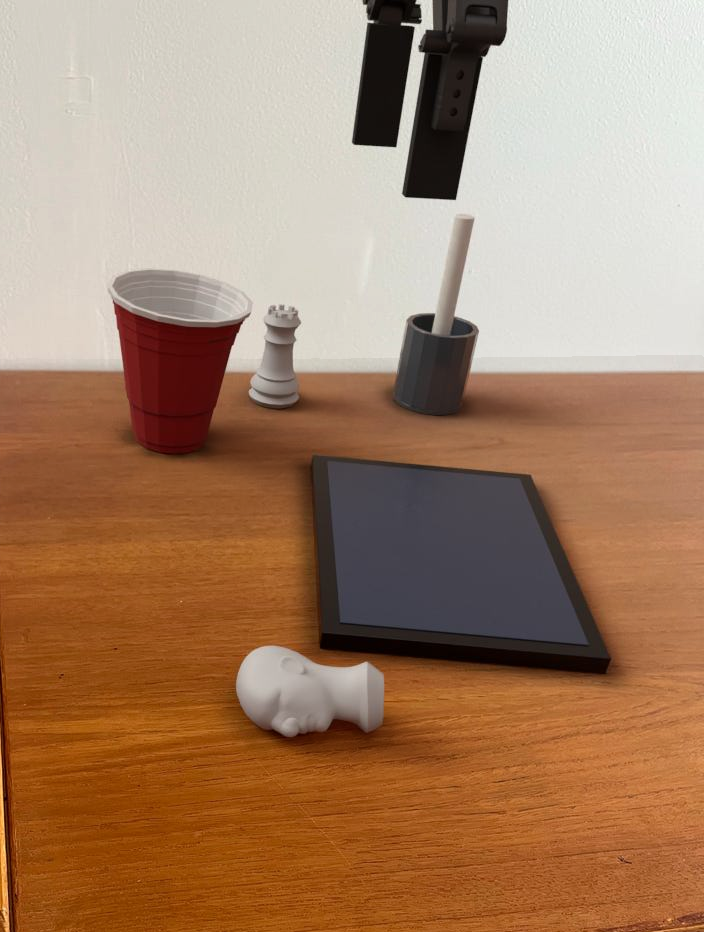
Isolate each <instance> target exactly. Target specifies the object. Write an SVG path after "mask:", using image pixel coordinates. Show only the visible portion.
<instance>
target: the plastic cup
mask: <svg viewBox="0 0 704 932" xmlns="http://www.w3.org/2000/svg"><path fill="white" fill-rule="evenodd" d="M106 287H107V292H108V294H109V295H110V297H111V300H112V304H113V309H114V311H113V312H114V315H115V318H116V319H115V320H116V329H117V331H118V336H119V347H120V353H121V361H122V369H123V375H124V377H123V378H124V384H125V392H126V393H125V394H126V399H127V400H128V406H129V413H130V421H131V428H132V432H133V434H134V438H135V440H136V441H137V443H138V444H139V445H141V447H144V448H146V449H147V450H151V451H154V452H158V453H165V454H185V453H190V452H193V451H197V450H199V449H200V448H202V447H203V446H204V445H205V442H206V439H207V438H208V435H209V431H210V427H211V424H212V423H211V422H212V420H213V416H214V411H215V408H216V407H217V404H218V400H219V396H220V393H221V389H222V385H223V381H224V377H225V373H226V371H227V367H228V366H227V365H228V363H229V360H230V355H231V351H232V347H233V346H235V345H234V344H235V341H236V339H237V335H238V334H239V332H240V330H241V327H242V325H243V323H244V322H245V321H246V320H247V319H248V318H250V315H251V314H252V311H253V300H252V299H250V297H249V296H248V295H247V294H246V293H245V292H244V291H243V290H240V289H239V288H237V287H235V286H233V285H231V284H229V283H227V282H225V281H223V280H219V279H216V278H212V277H210V276H207V275H204V274H200V273H194V272H189V271H183V270H178V269H167V268H166V269H165V268H139V269H138V268H137V269H129V270H125V271H123V272H120V273H116V274H115V275H112V276H111V277H110V280H109V281H108V283H107V285H106Z"/></svg>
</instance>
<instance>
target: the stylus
mask: <svg viewBox="0 0 704 932" xmlns="http://www.w3.org/2000/svg"><path fill="white" fill-rule="evenodd" d="M474 223H475V216H474V215H471V214H468V213H455V215H454V219H453V223H452V229H451V234H450V239H449V244H448V248H447V254H446V259H445V263H444V269H443V274H442V279H441V283H440V288H439V293H438V299H437V304H436V308H435V309H436V310H435V319H434V324H433V329H432V333H435V334H439V335H449V336H450V333H451V328H452V324H453V319H454V316H455V314H456V309H457V304H458V299H459V296H460V295H459V294H460V290H461V286H462V285H461V284H462V281H463V276H464V271H465V266H466V261H467V256H468V252H469V247H470V242H471V237H472V234H473V228H474Z"/></svg>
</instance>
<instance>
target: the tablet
mask: <svg viewBox="0 0 704 932" xmlns="http://www.w3.org/2000/svg"><path fill="white" fill-rule="evenodd" d="M309 468H310V487H311V504H312V506H311V507H312V508H311V509H312V522H313V524H312V525H313V526H312V527H313V543H314V545H313V546H314V563H315V564H314V566H315V583H316V584H315V585H316V603H317V620H318V621H317V625H318V641H319V644H318V645H319V649H323V650H324V649H325V650H334V651H336V650H337V651H345V652H346V651H347V652H356V653H366V654H367V653H368V654H379V655H389V656H399V657H402V656H403V657H412V658H423V659H432V660H445V661H454V662H455V661H456V662H467V663H478V664H490V665H500V666H502V665H503V666H510V667H511V666H512V667H523V668H533V669H543V670H544V669H545V670H555V671H564V672H565V671H568V672H575V673H576V672H577V673H588V674H598V675H606V674H607V671H608V669H609V666H610V663H611V661H612V657H611V654H610V652H609V650H608V648H607V646H606V643H605V641H604V638H603V636H602V634H601V632H600V629H599V627H598V625H597V623H596V621H595V619H594V616H593V614H592V611H591V609H590V607H589V604H588V602H587V600H586V598H585V596H584V593H583V591H582V589H581V587H580V584H579V582H578V580H577V577H576V575H575V572H574V570H573V568H572V565H571V563H570V561H569V559H568V556H567V553H566V552H565V550H564V547H563V545H562V543H561V540H560V538H559V536H558V534H557V532H556V529H555V527H554V524H553V522H552V520H551V518H550V516H549V513H548V511H547V509H546V506H545V504H544V502H543V500H542V497H541V495H540V492H539V491H538V488H537V486H536V484H535V481H534V478H533V477H532V475H531V474H528V473H527V474H526V473H517V472H507V471H495V470H483V469H474V468H473V469H472V468H463V467H451V466H441V465H430V464H419V463H408V462H398V461H387V460H376V459H365V458H356V457H355V458H353V457H345V456H344V457H343V456H333V455H322V454H312V455H311V461H310V467H309Z"/></svg>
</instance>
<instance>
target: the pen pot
mask: <svg viewBox="0 0 704 932" xmlns="http://www.w3.org/2000/svg"><path fill="white" fill-rule="evenodd" d="M435 313H436V312H435ZM435 313H434V312H423V313H416V314H412V315H410V316H408V318H407V319H406V321H405V326H404V332H403V336H402V342H401V348H400V352H399V358H398V364H397V368H396V373H395V374H396V375H395V380H394V385H393V393H392V394H393V395H392V398H393V401H394V402H395V403H396V404H398V406H400V407H402V408H404V409H406V410H408V411H411V412H415V413H418V414H424V415H431V416H446V415H452V414H456V413H458V412H459V411H461V409H462V406H463V403H464V401H465V400H464V399H465V397H466V391H467V386H468V383H469V378H470V374H471V369H472V365H473V360H474V355H475V352H476V346H477V343H478V339H479V333H480V330H479V327H478V326H477V325H476V324H474V323H473V322H471V321H470V320H467V319H465V318H462V317H458V316H455V315H454V319H453V324H452V328H451V333H450V336H449V335H439V334H435V333H432V329H433V324H434V319H435Z"/></svg>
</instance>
